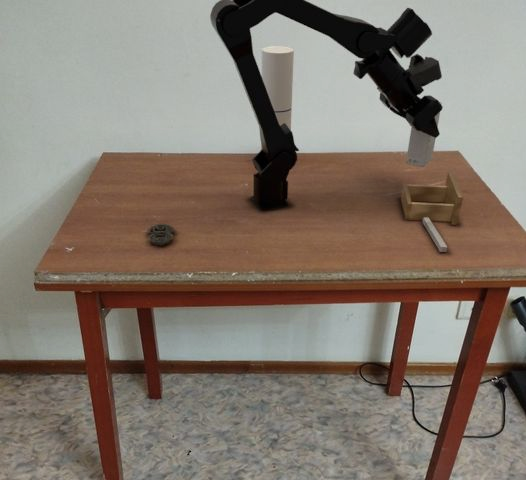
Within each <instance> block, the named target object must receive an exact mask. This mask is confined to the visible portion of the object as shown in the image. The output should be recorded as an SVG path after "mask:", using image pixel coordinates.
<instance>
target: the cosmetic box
mask: <svg viewBox="0 0 526 480" xmlns="http://www.w3.org/2000/svg"><path fill="white" fill-rule="evenodd" d="M439 102H440V104H441V105H442V104H443V103H442V102H441V101H439ZM440 116H441V111H440V112H439V113H438V114H437V115H436V116H435V120H436V124H437V127H438V128H439V123H440ZM435 144H436V138H435V137H432V136H430V135H428V134H426V133H423V132H421V131H417V130H415V129H414V128H413V127H410V134H409V140H408V147H407V153H406V159H405V163H406V164H407V165H410V166H413V167H414V166H415V167H419V168H425V167H426V166H428V164H429V163H430V162H431V161H432V160H433V156H434V151H435V150H434V149H435Z"/></svg>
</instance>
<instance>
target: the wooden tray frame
mask: <svg viewBox="0 0 526 480" xmlns="http://www.w3.org/2000/svg"><path fill="white" fill-rule="evenodd" d="M463 200H464V196H463V194H462V191H461V189H460V187H459V184H458V182H457V178H456V177H455V174H454V172H453V171H448V172H447V176H446V179H445V185H431V184H411V183H403V184H402V190H401V196H400V201H401V206H402V210H403V215H404V219H405V220H410V221H423V217H429V219H430V220H431V222H449V223H451V225H452V226H457V225H458V222H459V218H460V213H461V210H462V204H463Z"/></svg>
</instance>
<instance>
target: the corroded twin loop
mask: <svg viewBox="0 0 526 480" xmlns="http://www.w3.org/2000/svg"><path fill="white" fill-rule="evenodd" d="M174 230H175V228H174V227H173V226H172V225H170V224H166V223H157V224H154V225H152V226H150V227H149V228H148V229H147V231H148V232H149V234H150V235H148V236H147V238H148V240H150V242H151V243H152V244H154V245H156V246H157V245H158V246H164V245H166V244H168V243H170V242H172V239H173V238H174V234H173V231H174Z"/></svg>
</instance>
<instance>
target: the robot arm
mask: <svg viewBox="0 0 526 480" xmlns="http://www.w3.org/2000/svg"><path fill="white" fill-rule="evenodd" d="M273 14H279V15H280V16H283V17H285V18H287V19H289V20H292V21H294V22H295V23H298V24H300V25H303V26H305V27H307V28H310V29H311V30H314V31H315V32H318V33H320V34H323V35H325V36H327V37H329V38H330V39H331V40H333V41H334V42H335V43H337V44H338V45H340V46H341V47H342V48H343V49H345V50H347V52H349V53H351V55H354V56H355V57H357V59H361V60H355V61H354V68H353V73H352V74H353V75H354V76H355V77H356V78H358V80H359V79H360V80H362V79H363V78H364V77H365V76H366V75H367V76H368V77H369V78H370V80H371V81H372V82H373V83H374V85H375V86H376V89H377V91H378V92H379V100H380V102H381V103H382V104H383V106H384V107H386V108H387V109H389V110H390V111H391V112H392V113H394V114H395V115H397V116H399V117H401V118H403V119H405V121H406V122H407V123H408V124H409V126H410V128H412V127H413V128H414V129H415V130H417V131H421V132H423V133H426V134H428V135H430V136H432V137H435V138H438V137H439V136H440V134H441V133H440V130H439V126H438V127H437V124H436V120H435V116H436V115H437V114H438V113H439V112H440V113H441V111H443V105H442V104H440V102H441V101H439V100H438V99H437V98H435V97H434V96H432V95H423V96H422V97H419V96H421V94H422V93H423V92H424V91H425V89H424V88H423V87H425V86H428V85H429V84H431V83H434V82H435V81H439V80H441V79H442V78H443V74H442V70H441V65H440V60H438V59H436V58H434V57H432V56H425V57H423V56H422V55H420V54H419V53H416V52H417V51H418V50H419V49H420V48H421V47H422V46H423V45H424V44H425V43H426V42H427V40H429V39H430V38H431V36H432V35H433V32H432V29H431V28H430V26H429V24H428V23H427V22H425V21H424V20H423V19H422V18H421V17H420V16H419V15H418V14H417V13H416V12H415V10H414V8H410V7H406V8H405V10H404V11H403V12H402V13H401V14H400V16H399V17H398V18H397V19H396V20H395V21H394V22H393V24H392V25H390V27H389V28H388V29H385V28H384V27H383V28H382V27H381V26H380V27H376V26H375V25H373V24H371V23H369V22H367V21H366V20H364V19H361V18H358V17H353V16H349V15H343V14H338V13H334V12H332V11H328V10H327V9H326V8H322V7H320V6H318V5H316V4H314V3H312V2H309V1H307V0H219V1H217V2H216V3H215V4H214V5H213V6H212V9H211V12H210V14H209V15H210V17H209V19H210V23H211V27H213V29H214V31H215V33H216V35H217V36H218V37H219V39H220V42H221V43H222V45H223V46H224V48H225V49H226V51H227V52H228V54H229V56H230V57H231V59H232V61H233V64H234V66H235V68H236V71H237V73H238V76H239V79H240V81H241V84H242V86H243V89H244V92H245V94H246V97H247V99H248V101H249V104H250V107H251V109H252V113H253V115H254V117H255V120H256V122H257V125H258V130H259V137H260V145H261V144H262V150H261V149H260V150H259V152H258V153H257V154H256V155H255V156H254V157H253V158H252V163H253V166H254V169H255V170H256V171H257V172H256V173H253V176H252V177H253V179H252V181H253V183H252V184H253V193H252V194H253V196H250V197H249V198H250V201H251V202H253V204H254V205H256V207H257V208H259V210H261V211H268V210H272V209H273V210H274V209H278V208H283V207H284V208H285V207H288V206H290V202H289V201H288V198H289V197H288V195H289V180H287V178H288V176H289V174H290V171H291V170H292V169H293V168H294V167H295V165H296V163H297V162H298V153H297V152H299V151H300V149H299V148H298V147H297V146H296V143H295V138H294V134H293V131H292V129H291V130H290V129H289V128H288V126H287V125H286V124H285V123H284V124H282V125H281V126H280V125H279V123H278V120H277V117H276V115H275V112H274V109H273V106H272V104H271V101H270V98H269V96H268V93H267V90H266V87H265V85H264V82H263V79H262V73H261V71H260V68H259V65H258V63H257V61H256V57H255V55H254V50H253V39H252V33H251V29H252V28H254V27H256V26H258V25H259V24H261V23H262V22H263V21H265V20H266V19H268V17H270V16H272V15H273ZM393 53H394V54H395V55H396V56H397V57H398V58H400V59H403V58H404V57H405V58H406V59H410V61H409V65H408V66H407V67H408V68H406V69H405V68H404V67H403V66H402V65H401V63H400V62H399V60H398V59H397V58H396V57H395V55H394V54H393Z"/></svg>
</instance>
